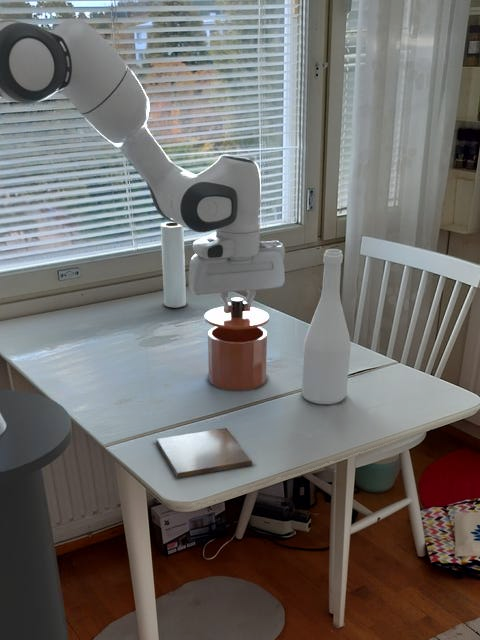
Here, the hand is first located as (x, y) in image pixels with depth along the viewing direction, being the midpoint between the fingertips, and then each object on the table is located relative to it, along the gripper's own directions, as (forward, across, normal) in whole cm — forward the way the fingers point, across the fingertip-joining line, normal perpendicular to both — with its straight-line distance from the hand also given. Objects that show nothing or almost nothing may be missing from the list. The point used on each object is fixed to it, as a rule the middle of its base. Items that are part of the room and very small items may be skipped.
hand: (236, 311), depth 165 cm
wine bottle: (+15, -14, +15) cm, 26 cm away
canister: (+15, 0, 0) cm, 15 cm away
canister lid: (+2, 0, 0) cm, 2 cm away
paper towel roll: (+15, -2, -55) cm, 57 cm away
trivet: (+15, +18, +31) cm, 39 cm away
